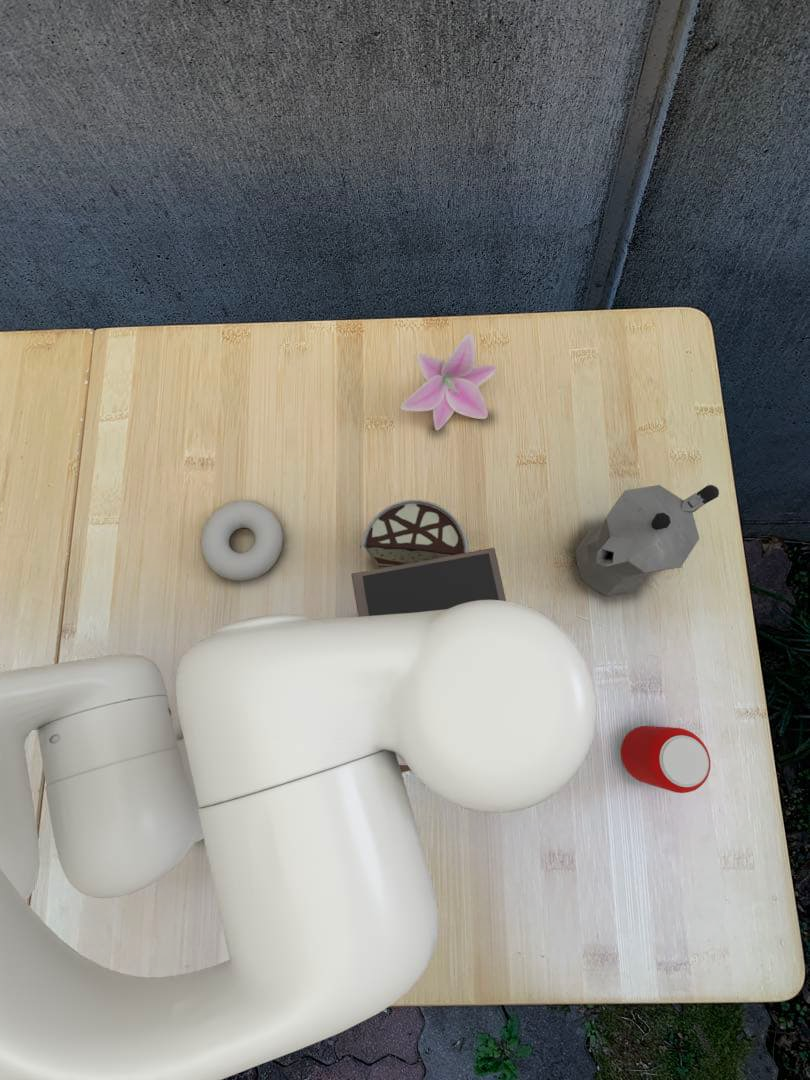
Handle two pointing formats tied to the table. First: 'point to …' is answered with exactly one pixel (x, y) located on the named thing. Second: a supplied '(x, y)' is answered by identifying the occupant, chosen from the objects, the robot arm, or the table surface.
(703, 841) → the table surface
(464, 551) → the chocolate cake
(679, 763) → the beverage can
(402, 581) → the black pad
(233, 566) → the donut
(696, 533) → the coffeepot
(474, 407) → the lily
